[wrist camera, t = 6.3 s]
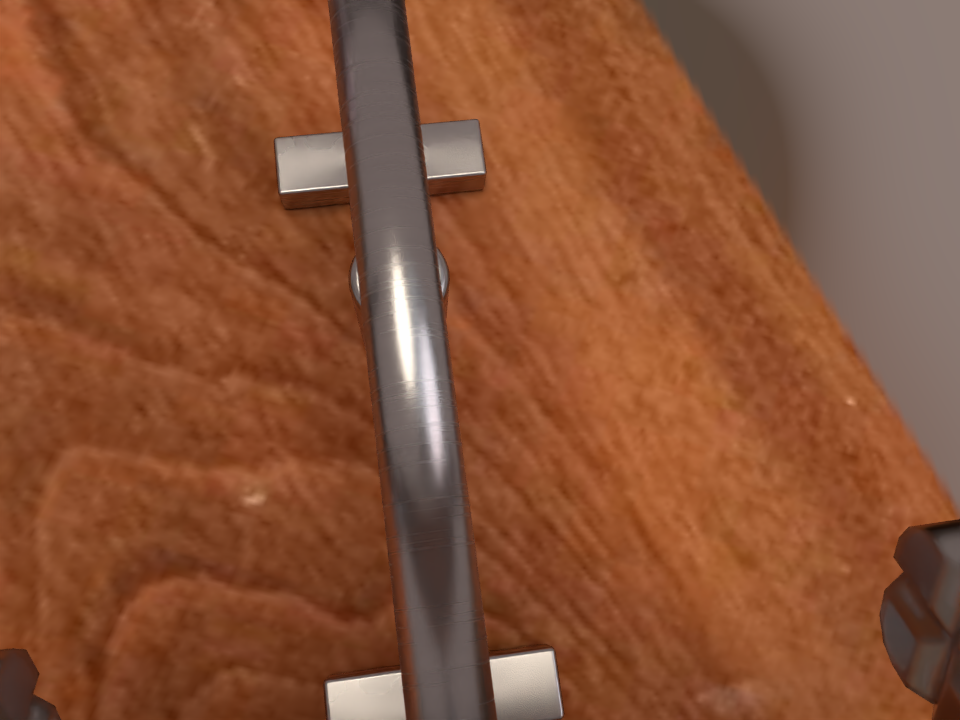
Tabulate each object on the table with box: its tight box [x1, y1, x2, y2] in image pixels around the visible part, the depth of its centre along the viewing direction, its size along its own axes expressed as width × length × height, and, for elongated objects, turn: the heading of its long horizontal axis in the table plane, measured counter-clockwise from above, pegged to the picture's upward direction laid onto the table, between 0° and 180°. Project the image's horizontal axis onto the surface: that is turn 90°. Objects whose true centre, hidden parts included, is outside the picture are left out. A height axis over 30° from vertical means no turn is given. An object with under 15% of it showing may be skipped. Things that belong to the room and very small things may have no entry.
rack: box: [274, 0, 564, 720], centre depth 13 cm, size 11×4×9 cm, turn 8°
